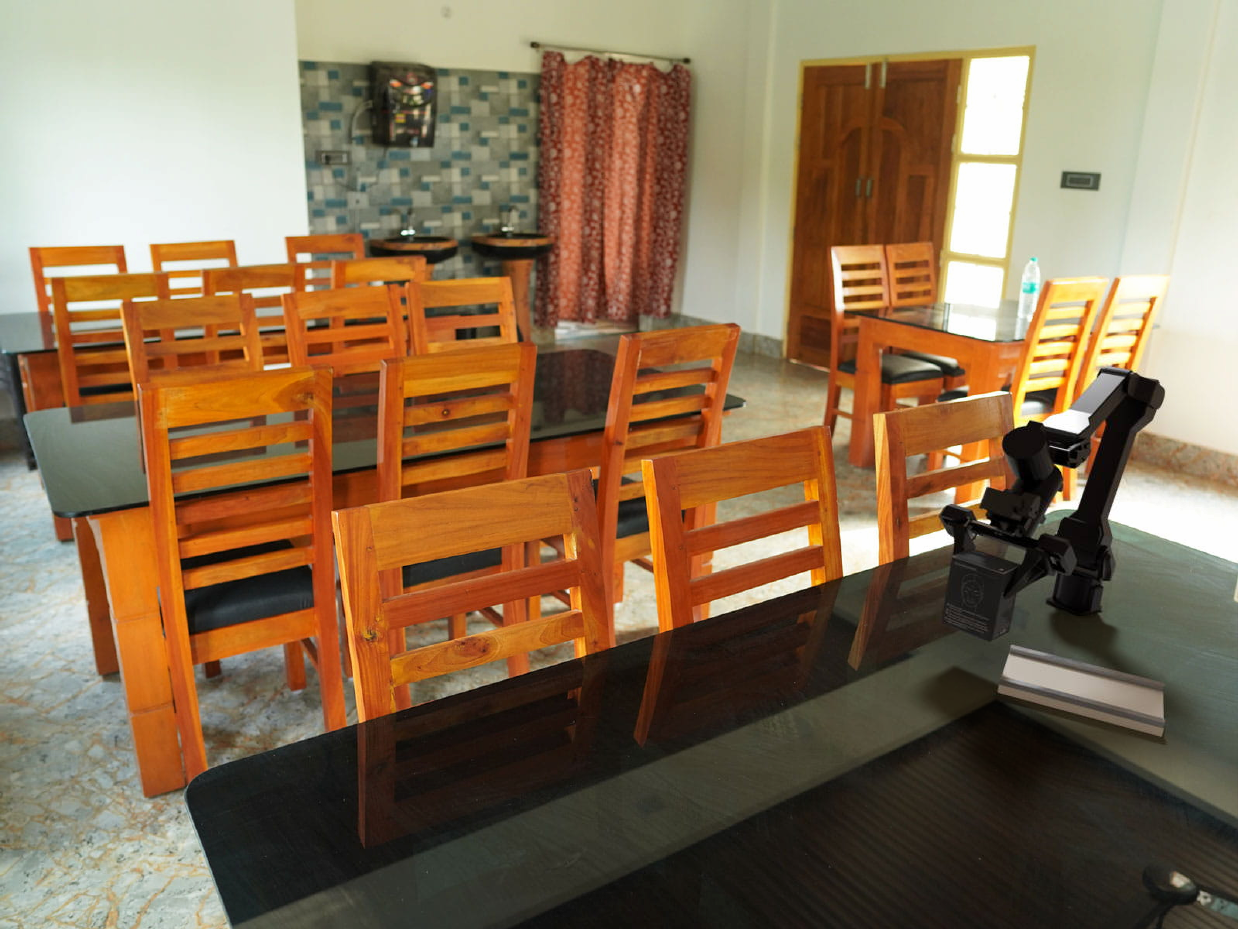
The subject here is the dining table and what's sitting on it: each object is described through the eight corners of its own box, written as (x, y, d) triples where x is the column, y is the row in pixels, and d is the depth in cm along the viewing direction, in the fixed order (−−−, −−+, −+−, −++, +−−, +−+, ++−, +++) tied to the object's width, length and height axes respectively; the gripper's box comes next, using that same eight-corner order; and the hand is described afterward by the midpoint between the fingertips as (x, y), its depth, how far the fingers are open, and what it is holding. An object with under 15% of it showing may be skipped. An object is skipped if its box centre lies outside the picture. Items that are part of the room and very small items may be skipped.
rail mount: (997, 692, 136) (1000, 679, 135) (1008, 657, 146) (1011, 644, 146) (1161, 737, 127) (1165, 723, 127) (1161, 695, 138) (1164, 682, 137)
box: (1009, 633, 141) (1023, 564, 138) (990, 644, 138) (1004, 573, 134) (959, 613, 147) (971, 546, 144) (939, 623, 143) (951, 554, 140)
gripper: (955, 450, 144) (902, 537, 140) (1083, 484, 131) (1028, 582, 127) (974, 492, 152) (924, 575, 148) (1098, 528, 139) (1046, 621, 135)
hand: (977, 587), depth 139 cm, fingers closed on box, 8 cm apart
